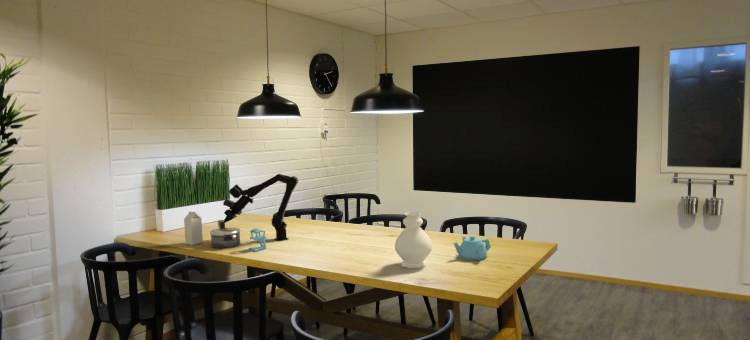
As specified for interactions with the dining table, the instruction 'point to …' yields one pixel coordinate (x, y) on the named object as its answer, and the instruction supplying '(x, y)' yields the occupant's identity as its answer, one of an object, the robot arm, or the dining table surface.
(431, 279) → the dining table surface
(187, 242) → the milk carton
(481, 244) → the teapot
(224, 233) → the cooker lid
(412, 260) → the decorative vase
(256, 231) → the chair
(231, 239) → the cooker pot
